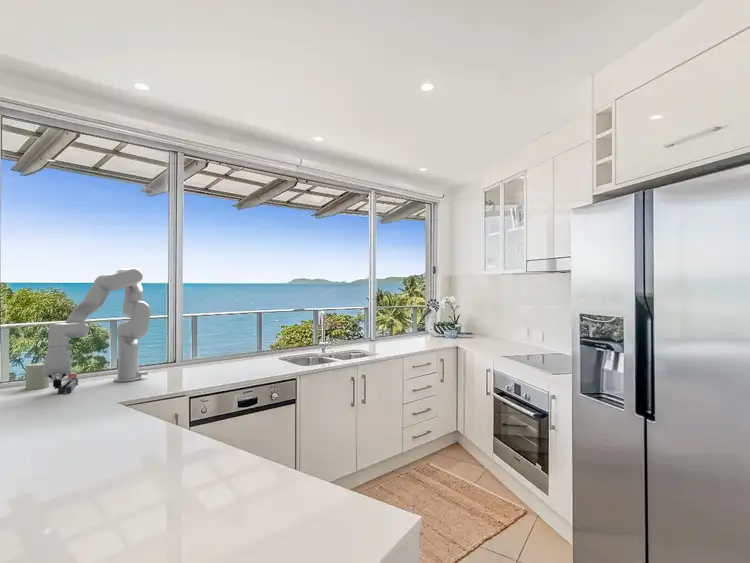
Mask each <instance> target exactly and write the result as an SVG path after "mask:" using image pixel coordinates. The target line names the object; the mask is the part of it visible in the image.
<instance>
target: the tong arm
mask: <svg viewBox="0 0 750 563" xmlns="http://www.w3.org/2000/svg"><path fill="white" fill-rule="evenodd" d="M70 383H71V380H67V381H66V380H65V381H64V382H63V383H62V384H61V386H59V387H58V389H57V394H58V395H61V394H64V393H66V387H67V385H69V384H70Z"/></svg>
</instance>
